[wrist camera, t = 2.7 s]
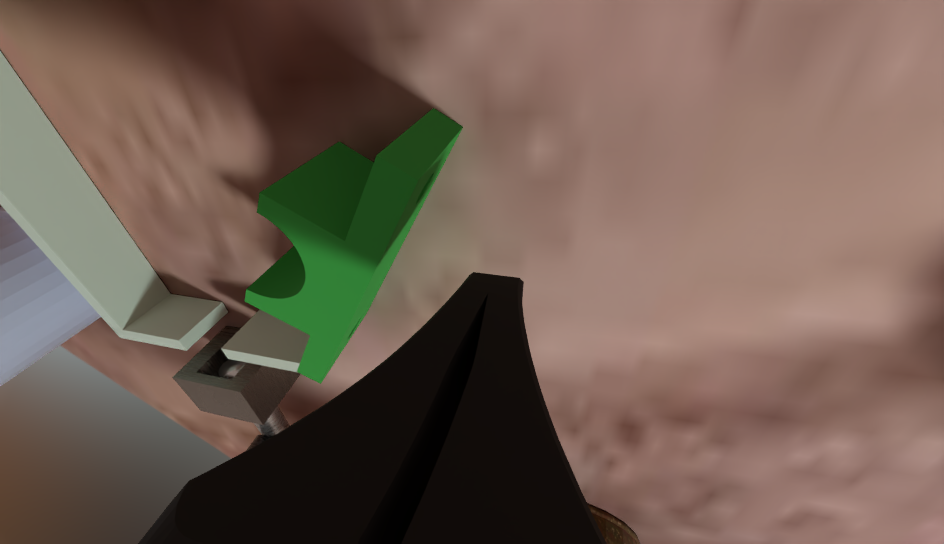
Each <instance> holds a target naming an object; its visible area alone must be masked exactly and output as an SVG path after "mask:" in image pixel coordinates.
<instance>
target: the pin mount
mask: <svg viewBox="0 0 944 544" xmlns="http://www.w3.org/2000/svg"><path fill="white" fill-rule="evenodd" d="M240 329H241V328H235V327H229V326H226V327H225V328H224V329H223V330H221V331H220V332H219V333H218V334H217V335H216V336H215V337H214V338H213V339H212V340H211V341H210V342H209V343H208V344H207V345H206V346H205V347H204V348H203V349H202V350H201V351H200V352H199V353H197V354H196V355H195V356H194V357H193V358H192V359H191V360H190V361H189V362H188V363H187V364H186V365H185V366H184V367H183V368H182V369H181V370H180V371H179V372H178V373H177V374H176V375H175V376H174V377H172V378H173V379H174V380H175V381H176V382H177V383H178V385H179V386H180V387H181V388H182V389H183V390H184V392H185V393H186V394H187V395H188V396H189V397H190V399H191V400H192V401H193V402H194V403H195V404H196V406H197V407H198V408H199V409H200V410H201V411H204V412H208V413H213V414H217V415H221V416H226V417H230V418H234V419H239V420H243V421H247V422H252V423H256V424H260V425H264V424H265V422H266V421H267V420H268V418H269V417H270V415H271V414H272V413H273V411H274V410H275V408H276V407H277V406H278V404H279V403H280V402H281V400H282V399H283V397H284V396H285V395H286V393H287V392H288V390H289V389H290V388H291V386H292V385H293V384H294V382H295V381H296V379H297V378H298V377H299V375H300V373H298V372H293V371H288V370H283V369H278V368H273V367H268V366H263V365H257V364H252V363H246V364H245V365H244V366H243V367H242V369H241V370H240V371H239V372H238V373H237V374H236V375H235V377H234V378H233V379H232V380H230V379H225V378H221V377H220V376H219V373H218V372H219V369H220V367H221V366H222V364H223V363H224V362H226V361H227V360H229V359H228V358H227V357H226V355H225V354H224V352H223V351H222V349H221V348H222V347H223V346H224V345H225V344H226V343H227V342H228V341H229V340H230V339H231V338H232V337H233V336H234V335H235V334H236V333H237V332H238V331H239V330H240Z"/></svg>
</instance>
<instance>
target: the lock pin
mask: <svg viewBox="0 0 944 544" xmlns="http://www.w3.org/2000/svg"><path fill="white" fill-rule="evenodd" d="M246 363H247V362H242V361H237V360H232V359H229V360H227V361H226V362H224V363H223V364H222V366H221V367H220V369H219V372H218V373H219V376H220V377H221V378H225V379H230V380H232V379H233V378H234V377H235V375H236V374H237V373H238V372H239V371H240V370H241V369H242V367H243V366H244V365H245V364H246ZM254 424H255V426H256V427H257V428H258V430H259V431H260V432H261V434H262V435H258V436H257V437H256V438H255V439H254V441H253V442H252V443H251V445H250V446H249V448H248V449H247V450H249V449H251V448H253V447H255V446H257V445H259V444H260V443H262V442H264V441H266V440H267V439H269V438H271V437H273V436H274V435H276V434H278V433H279V432H281V431H283V430H284V429H286V428H288V427H289V426H290V425H289V423H288V422H287V420H286V418H285V417H284V415H283V414H282V412H281V410H280V409H279V407H278V406H277V407H276V408H275V410H274V411H273V413H272V414H271V415H270V417H269V418H268V420H267V421H266V422H265V424H264V425H260V424H256V423H254ZM247 450H246V451H247Z"/></svg>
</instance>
